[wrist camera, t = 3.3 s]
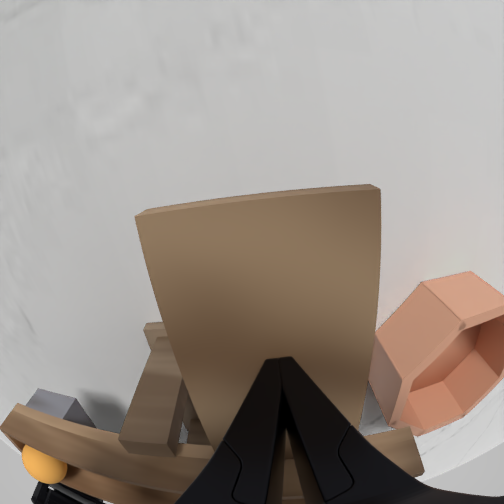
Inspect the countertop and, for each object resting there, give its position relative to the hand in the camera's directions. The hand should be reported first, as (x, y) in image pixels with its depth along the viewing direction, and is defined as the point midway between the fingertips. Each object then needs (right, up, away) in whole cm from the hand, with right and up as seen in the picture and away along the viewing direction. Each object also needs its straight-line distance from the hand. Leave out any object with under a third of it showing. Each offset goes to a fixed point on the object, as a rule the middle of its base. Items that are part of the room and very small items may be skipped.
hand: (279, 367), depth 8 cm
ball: (-15, -11, +3) cm, 18 cm away
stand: (-5, -6, +12) cm, 14 cm away
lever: (-5, -3, +4) cm, 8 cm away
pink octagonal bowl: (+14, -4, +11) cm, 18 cm away
